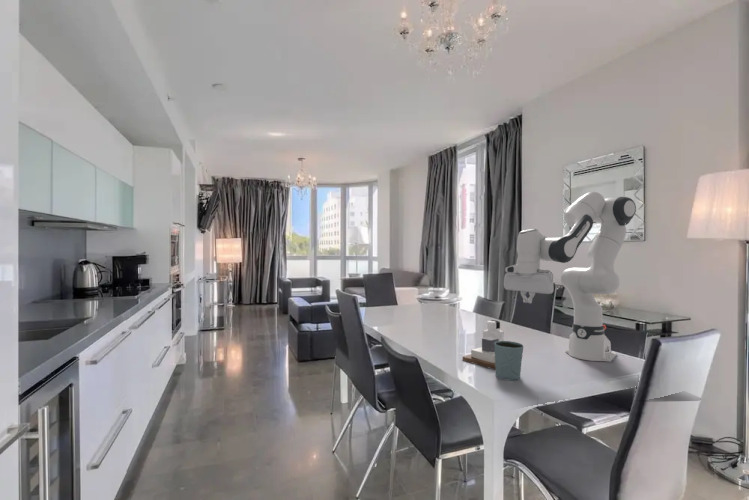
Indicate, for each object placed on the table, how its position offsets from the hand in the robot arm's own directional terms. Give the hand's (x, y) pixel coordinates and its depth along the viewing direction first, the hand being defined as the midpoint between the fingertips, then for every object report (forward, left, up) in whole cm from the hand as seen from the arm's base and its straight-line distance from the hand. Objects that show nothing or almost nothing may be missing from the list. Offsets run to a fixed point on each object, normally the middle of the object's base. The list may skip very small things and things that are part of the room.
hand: (527, 302), depth 161 cm
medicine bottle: (-16, -27, -25) cm, 40 cm away
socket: (+8, -12, -24) cm, 28 cm away
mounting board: (+8, -12, -25) cm, 29 cm away
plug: (+8, -12, -22) cm, 26 cm away
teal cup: (+19, +4, -25) cm, 32 cm away
